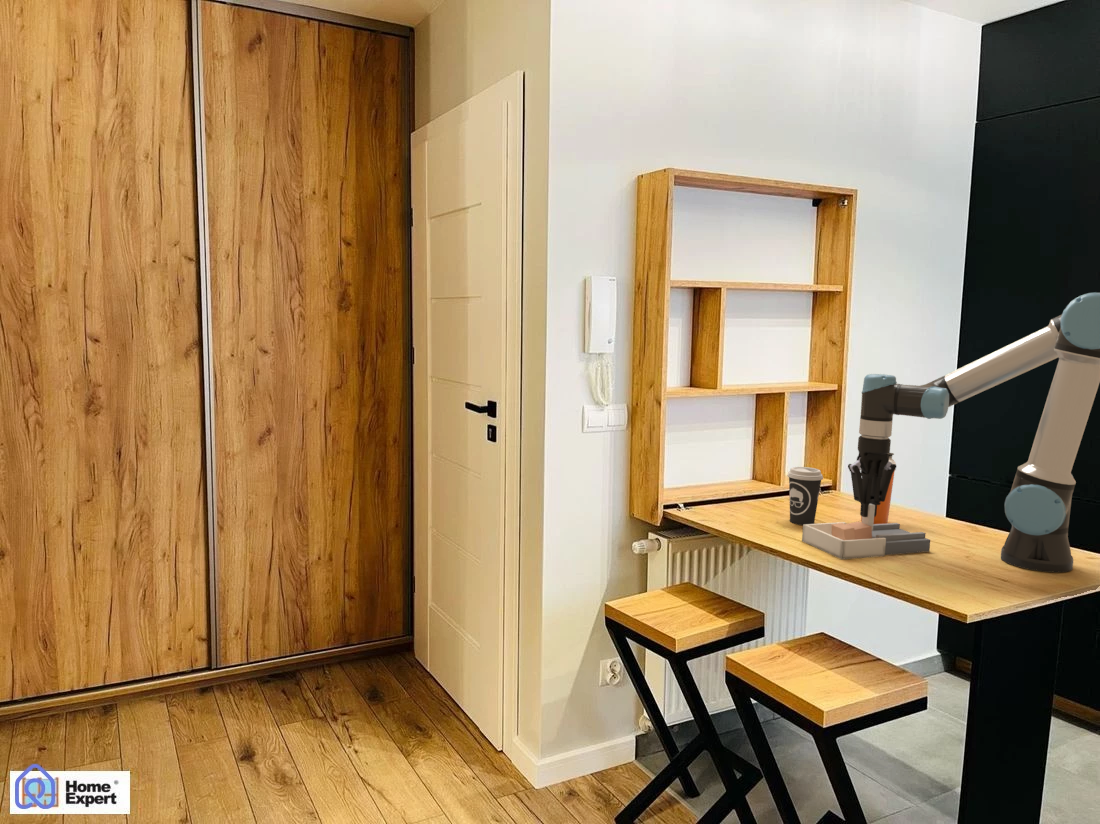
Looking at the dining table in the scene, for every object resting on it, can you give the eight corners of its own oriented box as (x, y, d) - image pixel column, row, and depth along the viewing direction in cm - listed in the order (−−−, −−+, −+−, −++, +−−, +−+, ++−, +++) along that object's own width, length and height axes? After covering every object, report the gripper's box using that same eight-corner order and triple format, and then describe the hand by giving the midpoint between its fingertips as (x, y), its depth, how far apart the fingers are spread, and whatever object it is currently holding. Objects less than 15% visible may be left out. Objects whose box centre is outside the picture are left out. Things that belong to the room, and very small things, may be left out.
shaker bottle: (896, 526, 236) (902, 455, 233) (863, 525, 236) (869, 454, 233) (884, 518, 245) (889, 450, 242) (852, 517, 245) (858, 449, 242)
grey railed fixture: (929, 551, 212) (930, 535, 211) (882, 554, 208) (884, 538, 207) (890, 536, 225) (891, 521, 225) (846, 539, 221) (847, 523, 220)
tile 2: (871, 538, 211) (871, 526, 211) (854, 541, 210) (854, 529, 209) (858, 532, 216) (858, 521, 216) (842, 536, 215) (841, 524, 214)
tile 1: (854, 527, 209) (844, 529, 209) (854, 547, 210) (844, 549, 209) (841, 522, 214) (831, 524, 213) (842, 541, 215) (832, 543, 214)
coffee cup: (821, 528, 232) (825, 473, 230) (785, 525, 234) (789, 471, 232) (817, 519, 241) (821, 467, 239) (783, 517, 243) (786, 465, 241)
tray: (884, 556, 207) (886, 538, 206) (841, 559, 203) (842, 541, 202) (842, 538, 222) (844, 522, 221) (801, 541, 218) (803, 524, 217)
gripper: (886, 433, 216) (878, 524, 219) (843, 434, 213) (835, 526, 216) (907, 438, 209) (898, 531, 212) (862, 439, 205) (854, 534, 208)
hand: (866, 529), depth 214 cm, fingers closed
